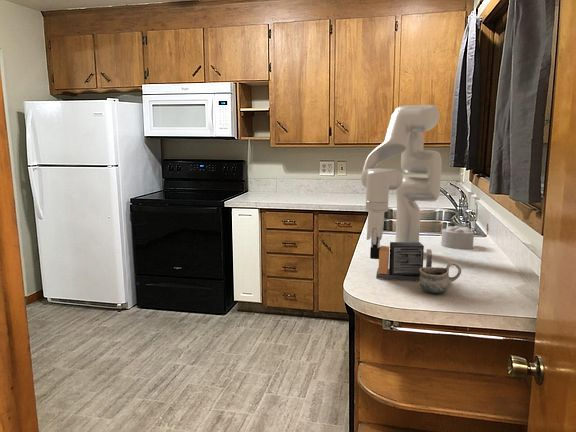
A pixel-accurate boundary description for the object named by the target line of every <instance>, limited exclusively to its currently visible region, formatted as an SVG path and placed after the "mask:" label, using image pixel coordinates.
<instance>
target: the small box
mask: <svg viewBox="0 0 576 432" xmlns="http://www.w3.org/2000/svg"><path fill="white" fill-rule="evenodd" d="M424 248H425V245H423V244H422V243H421V242H420V241H419V242H395V241H390V242H389V265H388V269H389V271H390V273H391V274H392V275H420V272H419V269H420V268H423V267H424V252H425V251H424V250H425V249H424Z"/></svg>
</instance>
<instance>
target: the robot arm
mask: <svg viewBox="0 0 576 432" xmlns="http://www.w3.org/2000/svg"><path fill="white" fill-rule="evenodd" d="M439 120H440V111H439V108H438V106H436V105H434V104H422V105H419V104H417V105H416V104H415V105H414V104H413V105H411V104H409V105H400V106H397V107H396V108H395V109H394V111H393V112H392V114H391V116H390V119H389V122H388V126H387V129H386V133H385V137H384V141H383V142H382V143H381V144H380V145H378V146H377V147H375V148H374V149H373V150H372V151H371V152H370V153H369V154H368V156H367V157H366V159H365V162H364V165H363V168H362V171H361V178H360V180H361V185H362V186H363V187H364V188H366V191H365V193H366V194H365V211H367V212H368V213H367V214H368V215H367V225H366V240H367V241H369V240H370V253H369V258H370V259H372V260H379V250H380V246H381V240H382V238H383V233H384V225H385V224H384V222H385V213H386V212H388V211H389V196H390V195H389V193H390V192H389V191H395V197H396V198H395V199H396V217H395V218H396V219H395V221H396V222H395V241H394V242H420V226H421V210H420V209H421V208H420V207H419V205H418V204H417V201H418V202H436V201H437V200H438V199H439V197H440V192H441V182H442V181H441V180H442V179H441V178H442V168H443V167H442V166H443V164H442V161H443V160H442V156H441V153H440V152H439V151H437V150H431V149H430V150H429V149H424V146H425V145H424V140H425V138H424V135H423V133H426V132H428V131H431V130H432V129H433V128H435V127H436V126H437V124H438V122H439ZM400 154H401V156H400V157H401V158H400V168H401V171H402V172H403V173H406V174H414V175H415V174H416V175H427V177H421V176H403V174H402V172H401V171H400V170H398V169H396V168H385V167H377V166H378V165H379V164H380V163H382V162H383V161H385V160H388V159H390V158H393V157H396V156H398V155H400Z"/></svg>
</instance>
